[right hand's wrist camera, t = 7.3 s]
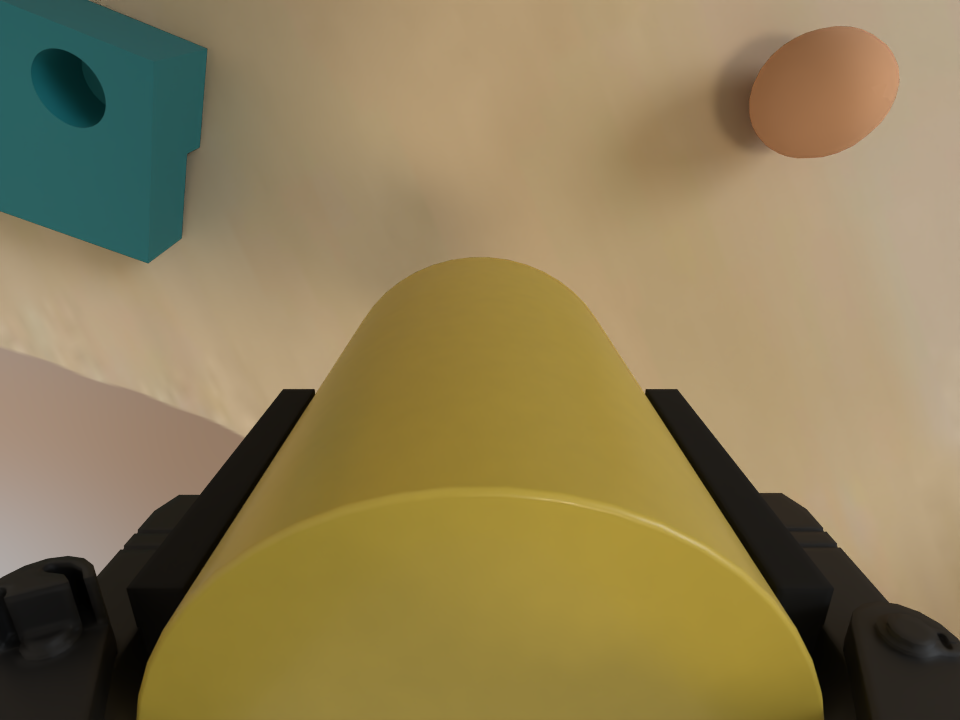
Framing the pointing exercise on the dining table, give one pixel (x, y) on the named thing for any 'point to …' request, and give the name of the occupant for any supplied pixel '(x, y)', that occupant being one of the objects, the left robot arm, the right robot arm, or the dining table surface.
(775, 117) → the egg
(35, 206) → the teal l-shaped bracket
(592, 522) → the can
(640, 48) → the dining table surface
